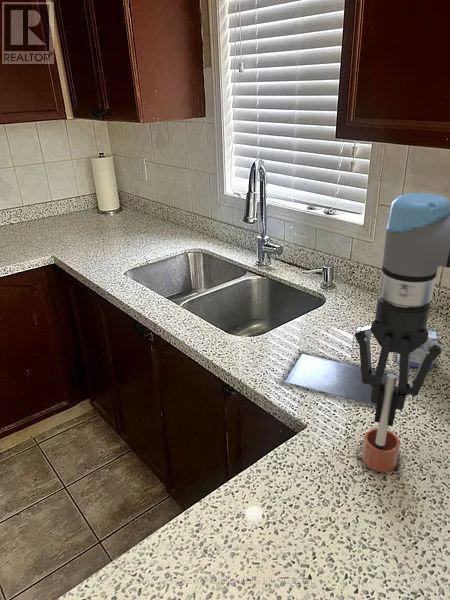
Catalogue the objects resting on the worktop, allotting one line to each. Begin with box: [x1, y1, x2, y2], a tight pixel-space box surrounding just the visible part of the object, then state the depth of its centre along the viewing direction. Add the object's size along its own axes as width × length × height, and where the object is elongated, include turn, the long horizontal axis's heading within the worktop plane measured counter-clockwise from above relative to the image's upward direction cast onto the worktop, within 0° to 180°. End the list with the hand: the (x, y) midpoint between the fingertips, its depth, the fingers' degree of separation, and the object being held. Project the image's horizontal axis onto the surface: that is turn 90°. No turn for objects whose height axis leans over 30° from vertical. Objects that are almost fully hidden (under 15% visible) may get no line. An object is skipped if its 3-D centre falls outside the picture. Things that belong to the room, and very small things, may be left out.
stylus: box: [375, 373, 398, 450], centre depth 77 cm, size 2×2×15 cm
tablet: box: [284, 353, 388, 407], centre depth 104 cm, size 22×14×1 cm, turn 63°
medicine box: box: [396, 329, 439, 370], centre depth 109 cm, size 8×4×9 cm, turn 73°
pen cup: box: [361, 427, 401, 473], centre depth 81 cm, size 6×6×6 cm
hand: (384, 419), depth 78 cm, fingers closed on stylus, 1 cm apart
